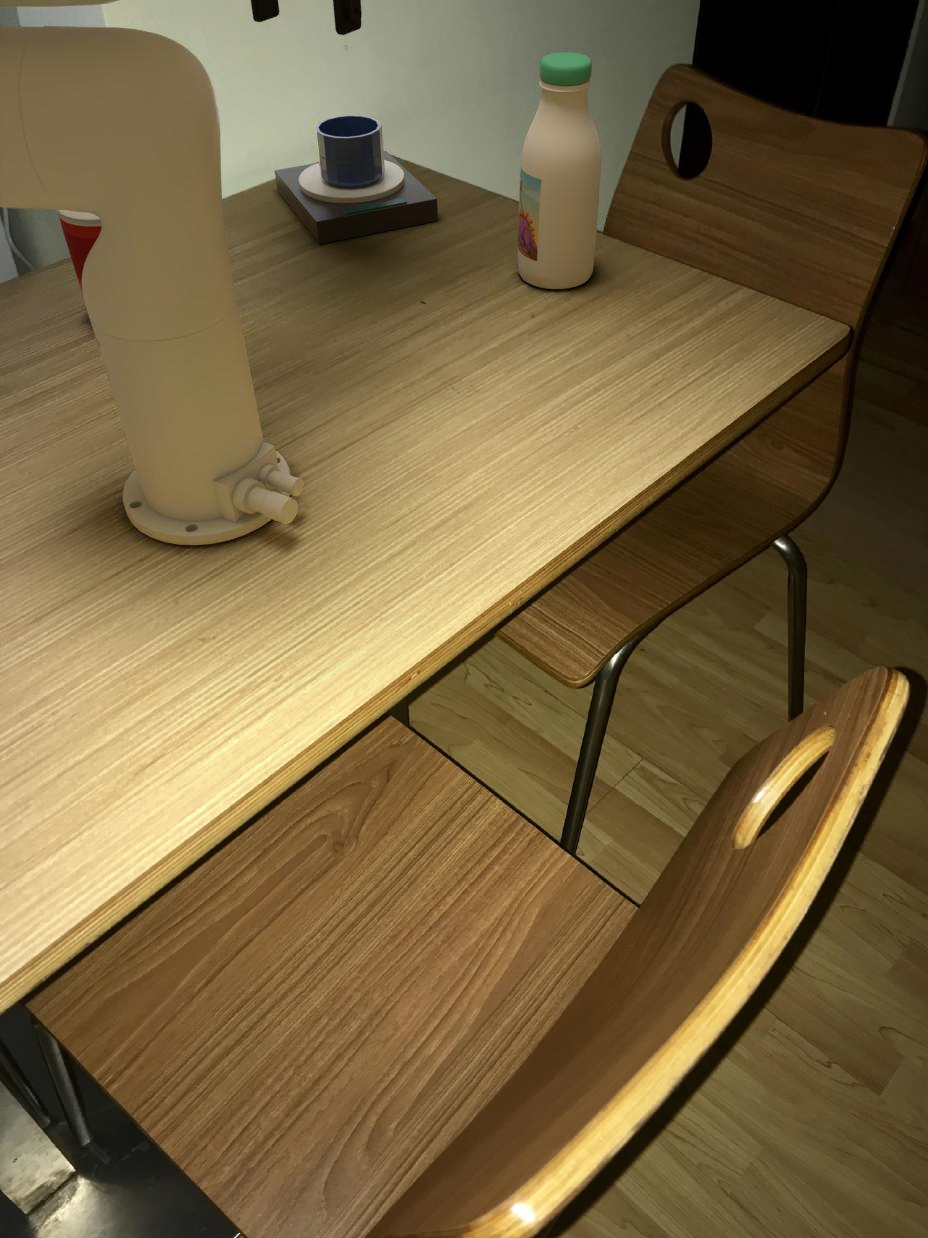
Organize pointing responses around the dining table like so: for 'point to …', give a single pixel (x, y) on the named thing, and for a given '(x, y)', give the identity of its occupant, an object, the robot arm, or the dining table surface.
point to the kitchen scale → (356, 202)
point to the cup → (350, 150)
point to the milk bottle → (560, 179)
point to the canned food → (79, 236)
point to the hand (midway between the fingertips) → (307, 24)
